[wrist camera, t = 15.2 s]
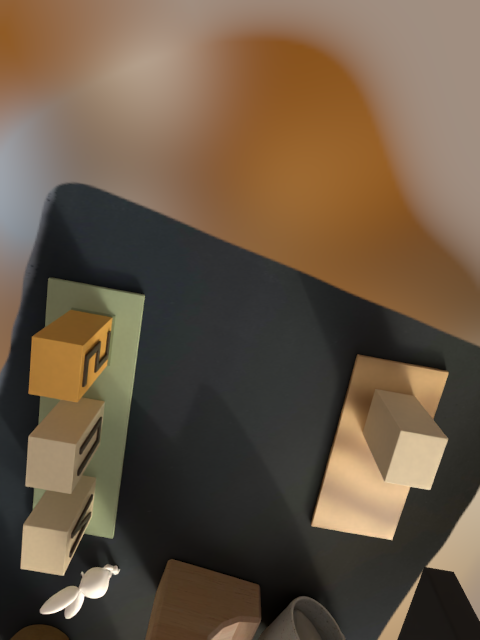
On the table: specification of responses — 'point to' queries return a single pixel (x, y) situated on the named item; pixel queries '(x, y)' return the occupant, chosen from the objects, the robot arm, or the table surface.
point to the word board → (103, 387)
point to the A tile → (403, 439)
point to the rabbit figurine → (80, 591)
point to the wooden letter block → (57, 528)
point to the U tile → (64, 445)
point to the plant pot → (39, 633)
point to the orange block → (69, 355)
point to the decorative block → (203, 605)
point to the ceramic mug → (303, 623)
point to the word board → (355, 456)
